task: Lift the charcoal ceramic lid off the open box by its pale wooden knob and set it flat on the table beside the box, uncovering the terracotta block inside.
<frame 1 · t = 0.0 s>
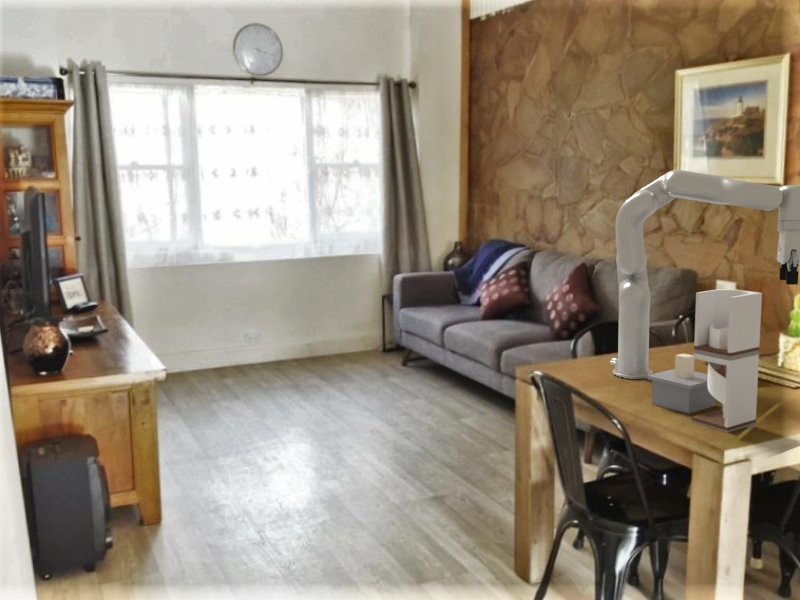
hand: (788, 282, 234), 31 cm above the table, tool pointing down, fingers open, 9 cm apart
terracotta block: (683, 404, 215), point 1 cm above the table, touching open box
open box: (683, 407, 215), on the table
lid: (684, 383, 214), point 7 cm above the table, touching open box
display case: (723, 426, 199), on the table
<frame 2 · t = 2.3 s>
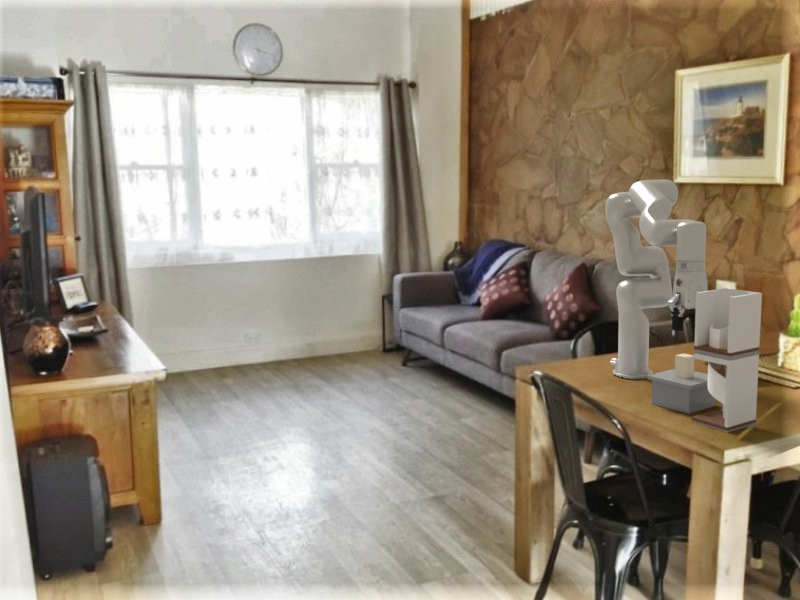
hand: (688, 328, 212), 23 cm above the table, tool pointing down, fingers open, 9 cm apart
nothing on the table moved.
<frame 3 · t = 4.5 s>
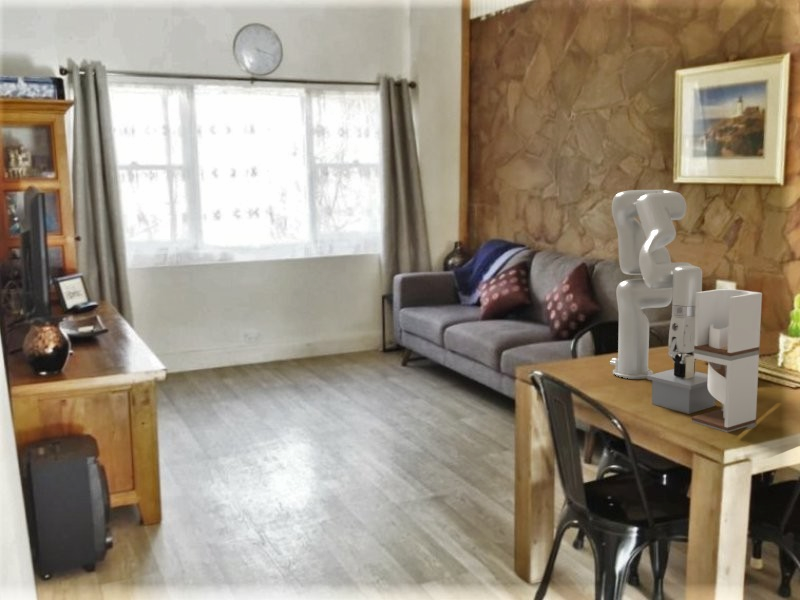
hand: (684, 374, 214), 9 cm above the table, tool pointing down, fingers closed on lid, 3 cm apart
lid: (684, 383, 214), point 7 cm above the table, touching open box, gripper
everything else where it was.
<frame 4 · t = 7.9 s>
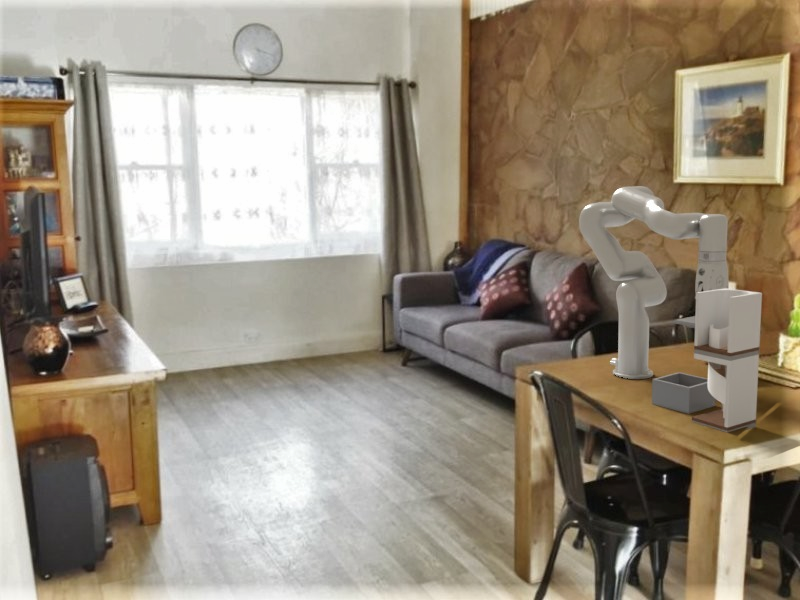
hand: (709, 318, 224), 23 cm above the table, tool pointing down, fingers closed on lid, 3 cm apart
lid: (709, 326, 224), point 20 cm above the table, touching gripper
everything else where it was.
when the fingers open (4 cm above the table, at t = 11.5 s): lid drops 2 cm, on the table.
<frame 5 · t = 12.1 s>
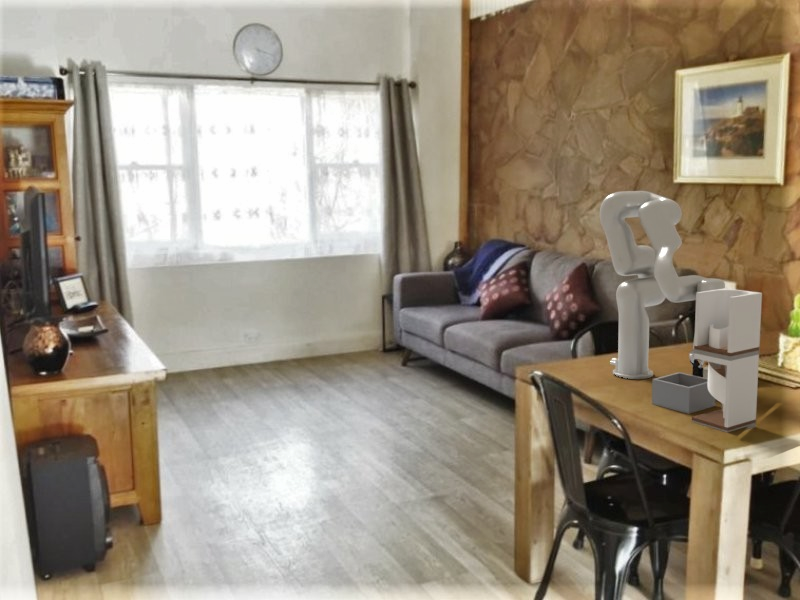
hand: (707, 377, 227), 5 cm above the table, tool pointing down, fingers open, 9 cm apart
lid: (706, 394, 228), on the table
everything else where it was.
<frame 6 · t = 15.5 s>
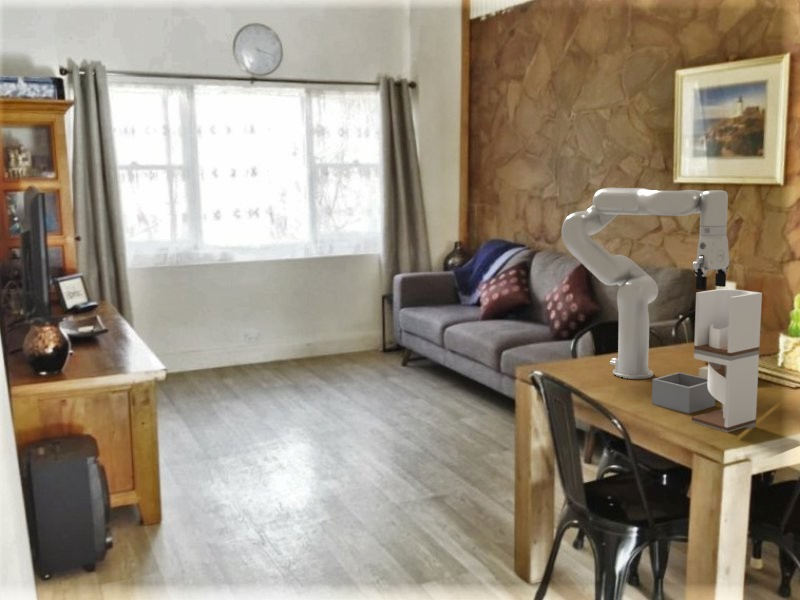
hand: (710, 287, 233), 30 cm above the table, tool pointing down, fingers open, 9 cm apart
nothing on the table moved.
at the end: lid moved 18.9 cm from its start; lid on the table; lid tilted 0° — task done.
